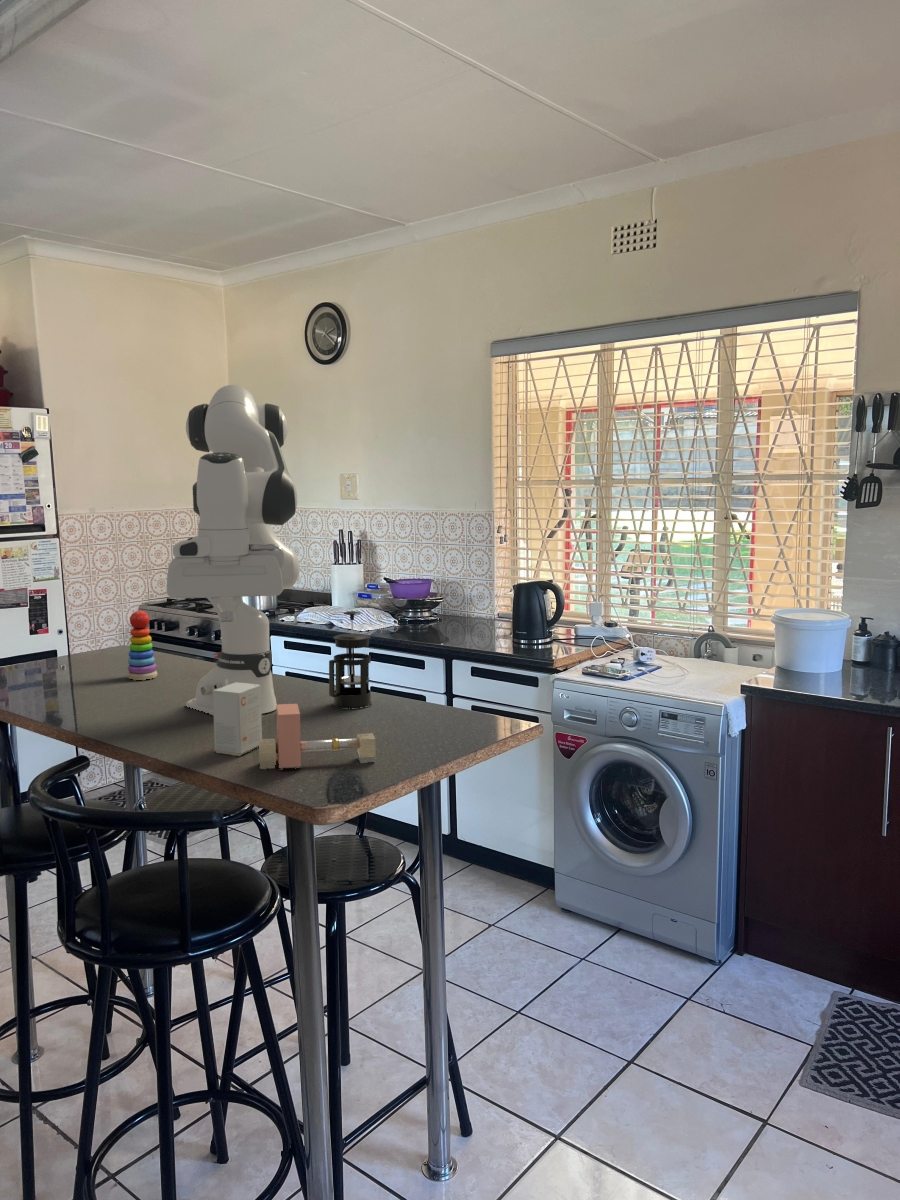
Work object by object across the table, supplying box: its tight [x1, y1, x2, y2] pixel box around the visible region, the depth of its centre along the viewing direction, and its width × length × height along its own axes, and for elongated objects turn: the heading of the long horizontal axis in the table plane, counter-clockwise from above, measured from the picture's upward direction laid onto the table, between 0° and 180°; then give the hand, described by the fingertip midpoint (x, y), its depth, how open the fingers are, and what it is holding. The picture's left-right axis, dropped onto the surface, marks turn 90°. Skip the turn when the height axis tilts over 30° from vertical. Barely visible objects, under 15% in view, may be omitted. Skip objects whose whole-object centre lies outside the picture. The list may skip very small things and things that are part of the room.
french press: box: [328, 610, 373, 710], centre depth 219 cm, size 12×9×23 cm
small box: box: [212, 682, 263, 753], centre depth 182 cm, size 8×6×13 cm
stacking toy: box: [126, 610, 158, 681], centre depth 246 cm, size 8×8×19 cm
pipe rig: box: [258, 732, 376, 767], centre depth 174 cm, size 22×4×5 cm, turn 103°
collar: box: [275, 703, 302, 769], centre depth 172 cm, size 4×8×10 cm, turn 13°
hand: (227, 621), depth 162 cm, fingers closed
